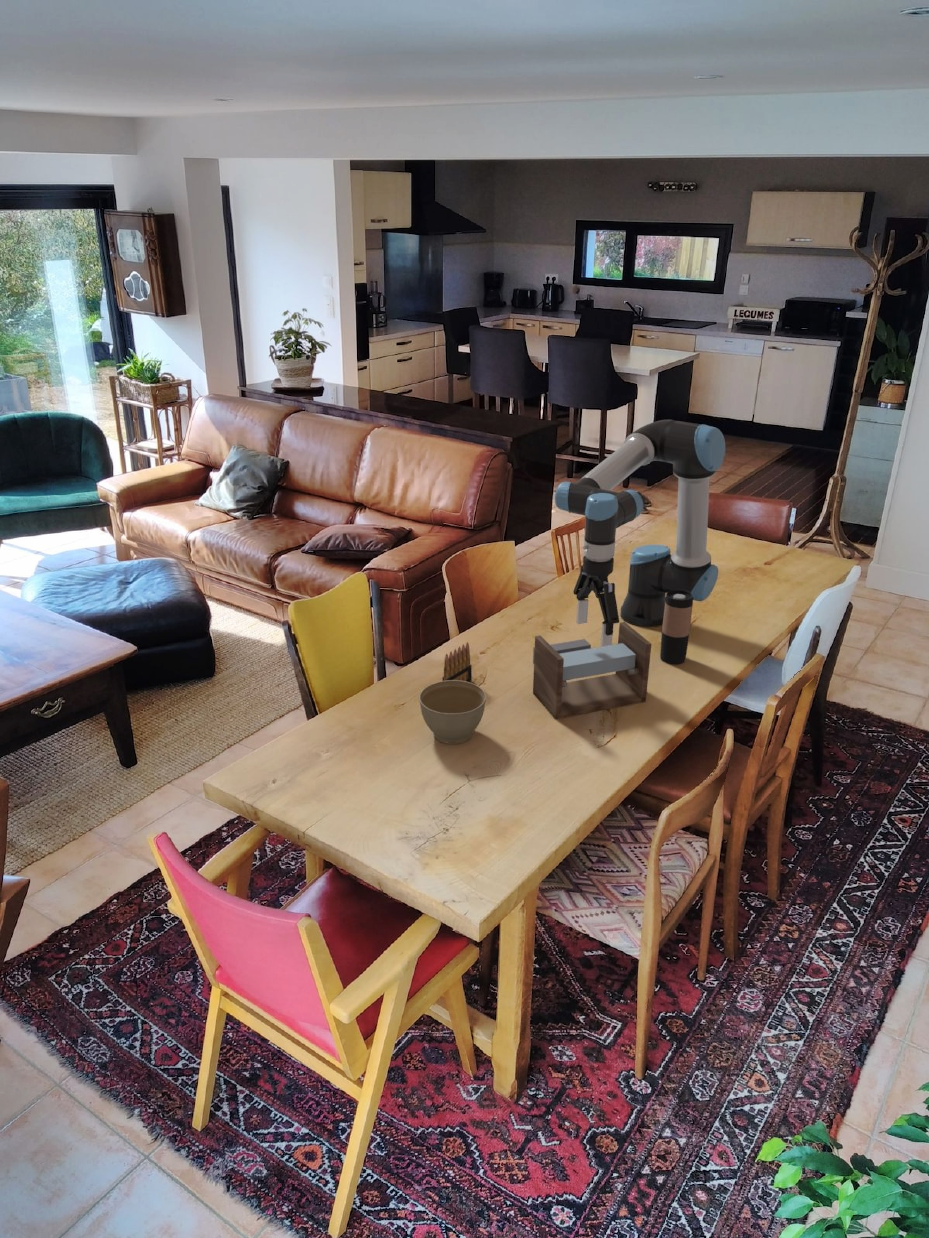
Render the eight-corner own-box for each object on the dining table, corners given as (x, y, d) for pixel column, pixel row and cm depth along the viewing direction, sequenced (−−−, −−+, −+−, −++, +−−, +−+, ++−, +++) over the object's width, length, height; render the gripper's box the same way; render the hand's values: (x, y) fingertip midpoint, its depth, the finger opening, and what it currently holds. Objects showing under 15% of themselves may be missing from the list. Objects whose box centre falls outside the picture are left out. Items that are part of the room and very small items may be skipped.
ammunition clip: (466, 679, 251) (466, 639, 246) (472, 681, 250) (472, 641, 245) (442, 694, 243) (441, 654, 238) (447, 696, 242) (447, 656, 237)
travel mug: (654, 659, 262) (660, 595, 254) (668, 650, 267) (675, 587, 259) (677, 667, 257) (684, 602, 249) (691, 658, 262) (699, 594, 254)
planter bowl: (410, 725, 229) (409, 687, 224) (469, 712, 235) (469, 675, 230) (434, 758, 215) (433, 718, 211) (496, 743, 221) (496, 704, 217)
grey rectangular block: (583, 654, 264) (584, 639, 262) (589, 660, 261) (590, 644, 259) (532, 663, 259) (533, 647, 257) (538, 669, 256) (539, 653, 254)
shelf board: (621, 656, 244) (622, 643, 243) (634, 668, 238) (635, 654, 237) (546, 669, 238) (547, 655, 236) (558, 681, 232) (558, 667, 230)
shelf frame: (619, 677, 252) (624, 621, 245) (645, 701, 240) (651, 643, 233) (532, 693, 244) (535, 636, 236) (555, 719, 232) (558, 659, 224)
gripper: (562, 541, 234) (559, 616, 243) (609, 576, 213) (603, 657, 222) (589, 538, 237) (584, 612, 246) (637, 572, 215) (630, 652, 225)
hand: (593, 633), depth 234 cm, fingers open, 13 cm apart
